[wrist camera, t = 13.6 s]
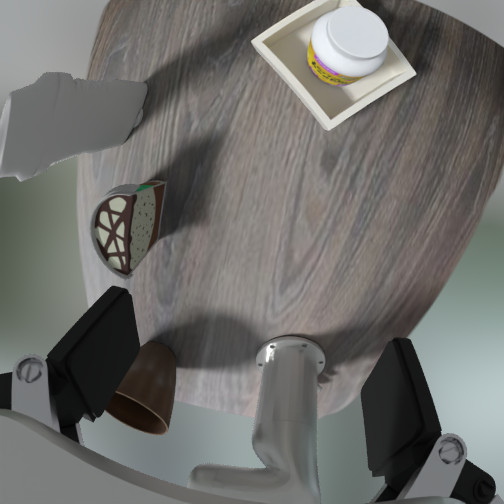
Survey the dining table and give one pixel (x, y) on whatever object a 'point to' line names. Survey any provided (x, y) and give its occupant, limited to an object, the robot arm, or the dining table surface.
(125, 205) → the food container
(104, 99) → the tall pale column
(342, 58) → the supplement bottle
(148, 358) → the plant pot
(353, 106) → the box
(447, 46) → the dining table surface
